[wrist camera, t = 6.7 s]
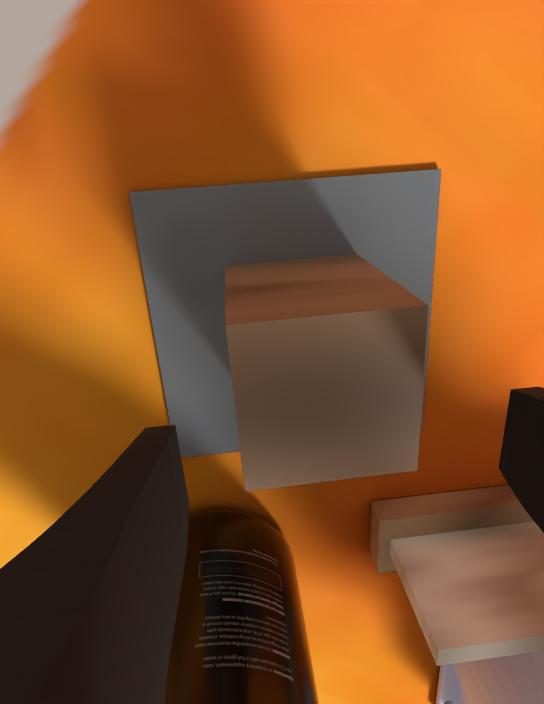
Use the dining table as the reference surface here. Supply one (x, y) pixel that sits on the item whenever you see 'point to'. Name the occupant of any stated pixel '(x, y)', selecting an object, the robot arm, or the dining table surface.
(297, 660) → the supplement bottle
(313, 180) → the coaster
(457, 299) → the dining table surface
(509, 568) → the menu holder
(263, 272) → the walnut block
